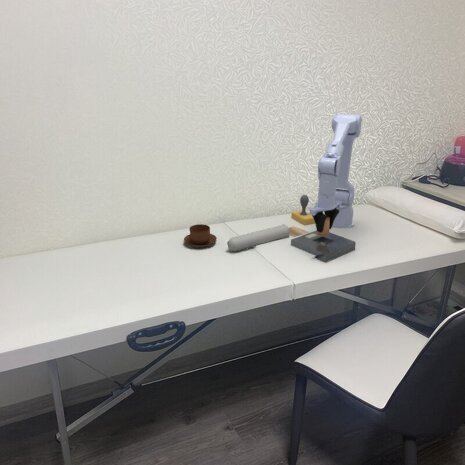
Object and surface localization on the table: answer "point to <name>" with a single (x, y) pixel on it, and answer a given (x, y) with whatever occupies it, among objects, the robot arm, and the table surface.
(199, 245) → the cup and saucer
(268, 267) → the table surface
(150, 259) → the table surface
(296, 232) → the tan square tile
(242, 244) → the tube
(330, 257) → the grey square slab
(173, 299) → the table surface
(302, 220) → the rubber stamp
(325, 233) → the peg
